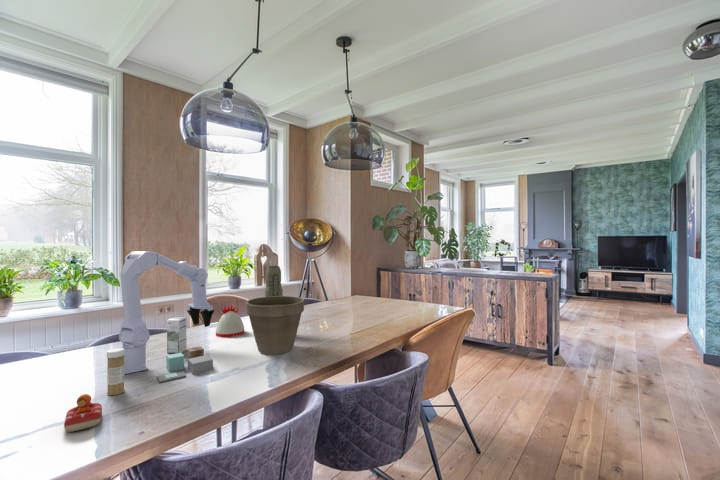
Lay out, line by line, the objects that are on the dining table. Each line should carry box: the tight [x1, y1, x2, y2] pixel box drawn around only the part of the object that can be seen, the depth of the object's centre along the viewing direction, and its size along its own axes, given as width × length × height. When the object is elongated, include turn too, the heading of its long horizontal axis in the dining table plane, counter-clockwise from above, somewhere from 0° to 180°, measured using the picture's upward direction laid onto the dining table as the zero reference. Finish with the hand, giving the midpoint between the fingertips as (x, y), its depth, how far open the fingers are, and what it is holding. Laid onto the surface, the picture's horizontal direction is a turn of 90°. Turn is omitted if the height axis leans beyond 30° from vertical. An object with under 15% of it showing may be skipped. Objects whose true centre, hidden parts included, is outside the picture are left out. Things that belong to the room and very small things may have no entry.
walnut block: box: [186, 346, 205, 362], centre depth 139 cm, size 5×5×5 cm
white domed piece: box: [215, 304, 245, 338], centre depth 182 cm, size 14×14×15 cm
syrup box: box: [166, 316, 188, 354], centre depth 153 cm, size 6×6×14 cm
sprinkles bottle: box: [106, 347, 125, 396], centre depth 110 cm, size 5×5×14 cm
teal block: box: [165, 352, 185, 373], centre depth 131 cm, size 5×5×5 cm
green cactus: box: [264, 265, 284, 297], centre depth 178 cm, size 9×12×35 cm
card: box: [156, 370, 187, 384], centre depth 122 cm, size 8×6×1 cm
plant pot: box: [245, 295, 305, 356], centre depth 153 cm, size 25×25×22 cm
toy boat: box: [63, 393, 103, 433], centre depth 91 cm, size 8×12×8 cm, turn 36°
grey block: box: [187, 354, 214, 375], centre depth 130 cm, size 7×7×4 cm
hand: (201, 325), depth 157 cm, fingers open, 7 cm apart
